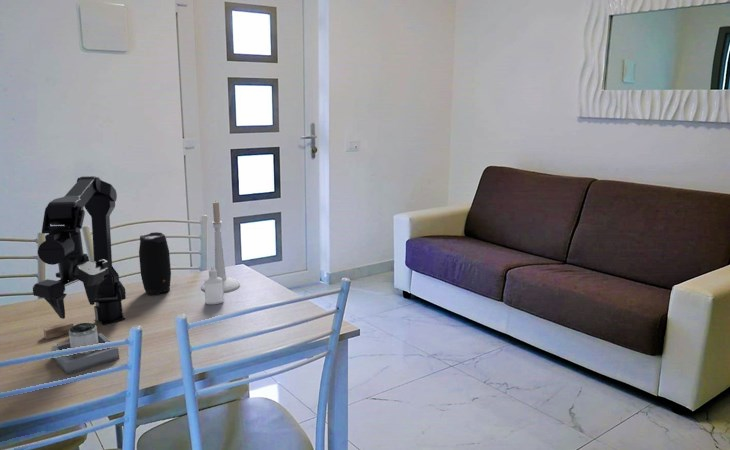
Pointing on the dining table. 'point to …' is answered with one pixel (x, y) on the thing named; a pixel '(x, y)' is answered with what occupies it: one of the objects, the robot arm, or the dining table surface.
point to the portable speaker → (155, 263)
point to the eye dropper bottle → (213, 288)
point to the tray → (86, 357)
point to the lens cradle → (58, 331)
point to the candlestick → (221, 254)
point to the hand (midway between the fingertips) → (77, 311)
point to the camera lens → (83, 337)
